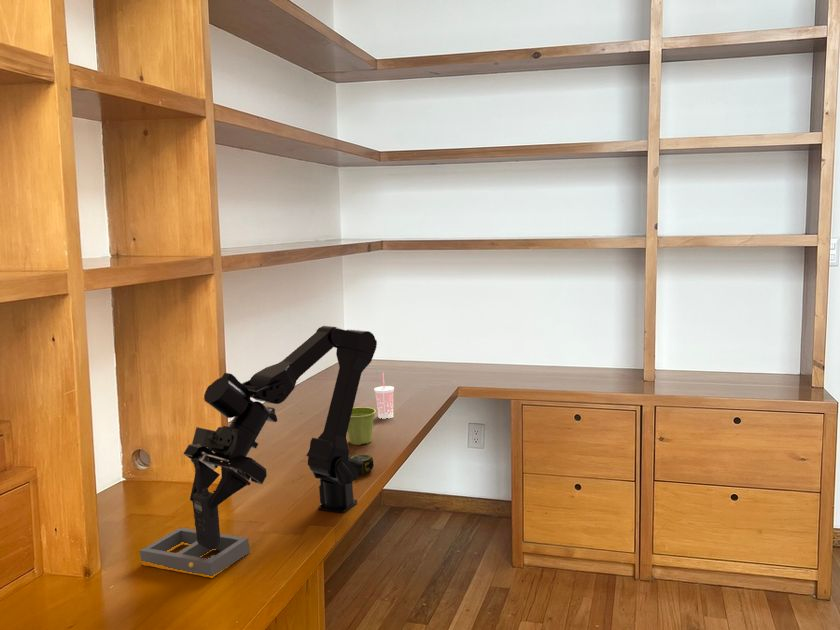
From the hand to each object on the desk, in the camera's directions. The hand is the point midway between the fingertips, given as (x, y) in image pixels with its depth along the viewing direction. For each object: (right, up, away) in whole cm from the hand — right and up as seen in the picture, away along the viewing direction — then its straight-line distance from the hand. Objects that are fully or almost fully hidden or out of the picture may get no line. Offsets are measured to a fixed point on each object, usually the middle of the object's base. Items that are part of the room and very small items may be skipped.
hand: (201, 504), depth 143 cm
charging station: (-2, -11, +4) cm, 12 cm away
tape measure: (+25, -4, +48) cm, 54 cm away
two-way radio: (+1, -8, +2) cm, 8 cm away
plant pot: (+24, -1, +73) cm, 77 cm away
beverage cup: (+30, +3, +97) cm, 102 cm away
